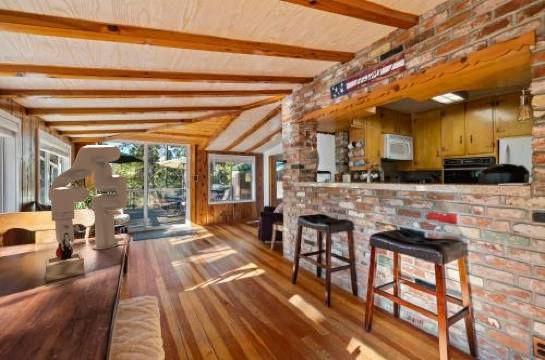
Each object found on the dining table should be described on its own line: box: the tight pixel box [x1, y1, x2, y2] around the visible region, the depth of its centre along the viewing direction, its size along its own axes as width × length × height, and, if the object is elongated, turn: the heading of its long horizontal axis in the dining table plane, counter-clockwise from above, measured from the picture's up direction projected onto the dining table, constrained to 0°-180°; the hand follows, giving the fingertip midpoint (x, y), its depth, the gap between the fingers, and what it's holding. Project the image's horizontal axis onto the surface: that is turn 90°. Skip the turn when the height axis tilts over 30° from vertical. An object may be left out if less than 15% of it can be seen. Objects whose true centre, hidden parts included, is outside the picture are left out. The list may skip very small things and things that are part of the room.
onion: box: [55, 242, 74, 260], centre depth 106 cm, size 6×6×8 cm
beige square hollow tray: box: [44, 252, 85, 282], centre depth 106 cm, size 12×12×6 cm
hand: (64, 257), depth 106 cm, fingers closed on onion, 5 cm apart
